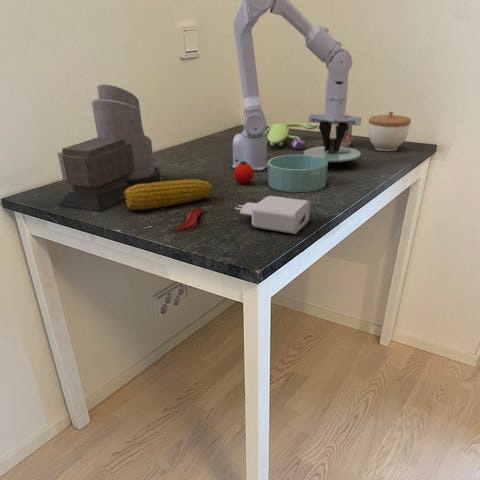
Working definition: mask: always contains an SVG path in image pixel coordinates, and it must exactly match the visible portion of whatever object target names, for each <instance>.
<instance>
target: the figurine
mask: <svg viewBox="0 0 480 480" xmlns="http://www.w3.org/2000/svg"><path fill="white" fill-rule="evenodd" d="M290 127H303V128H304V129H306V130H314V129H317V128H318V127H319V125H318V123H313V122H312V123H307V124H306V123H305V122H288V123H284V122H281V123H277V122H275V123H274V124H272V125H270V126H269V127H267V129H265V131H266V132H267V144H268V143H269V144H270V146H271V147H274V146H275V145H277V146H278V147H283V145H284V142H283V141H284V140H285V139H288V140H293V141H292V142H291V145H292V147H293V149H297V150H302V149H303V147H304V145H305V144H306V140H304V139H303V138H300V137H299V136H296V135H290V134H289V131H290Z"/></svg>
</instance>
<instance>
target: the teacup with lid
mask: <svg viewBox="0 0 480 480" xmlns="http://www.w3.org/2000/svg"><path fill="white" fill-rule="evenodd" d="M345 115H346V116H354V115H353V114H351V113H349V112H348V111H346V112H345ZM335 122H340V121H335ZM338 125H339V124H332V127H331V133H330V137H335V138H336V126H338ZM352 133H353V125H349V127H348V129H347V131H346V133H345V135H344V137H343V139H342V142H341V145H340V147H347V148H349V147H350V146H351V143H352Z"/></svg>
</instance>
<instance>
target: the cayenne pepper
mask: <svg viewBox="0 0 480 480" xmlns="http://www.w3.org/2000/svg"><path fill="white" fill-rule="evenodd" d="M204 212H205V211H204V210H203V209H200V208H196V207H195V208H192V209H191V210H190V212H188V213H187V215H186V219H185V222H184V223H182V224H180V225H179V226H177V227H176V228H175V231H181V230H182V231H183V230H187V229H190V228H193V227H196V226H197V225H198V217H199V216H200V215H201V214H203V213H204Z"/></svg>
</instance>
